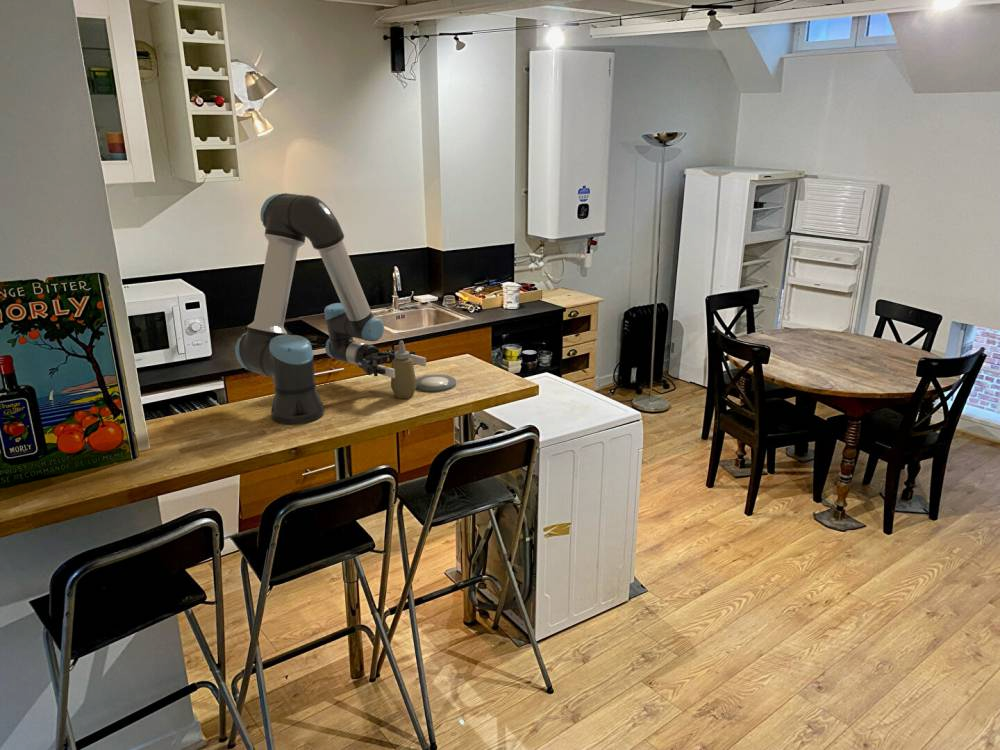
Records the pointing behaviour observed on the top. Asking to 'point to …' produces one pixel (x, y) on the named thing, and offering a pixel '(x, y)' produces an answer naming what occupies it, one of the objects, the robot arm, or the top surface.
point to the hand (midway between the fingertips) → (410, 367)
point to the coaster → (435, 383)
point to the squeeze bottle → (403, 373)
